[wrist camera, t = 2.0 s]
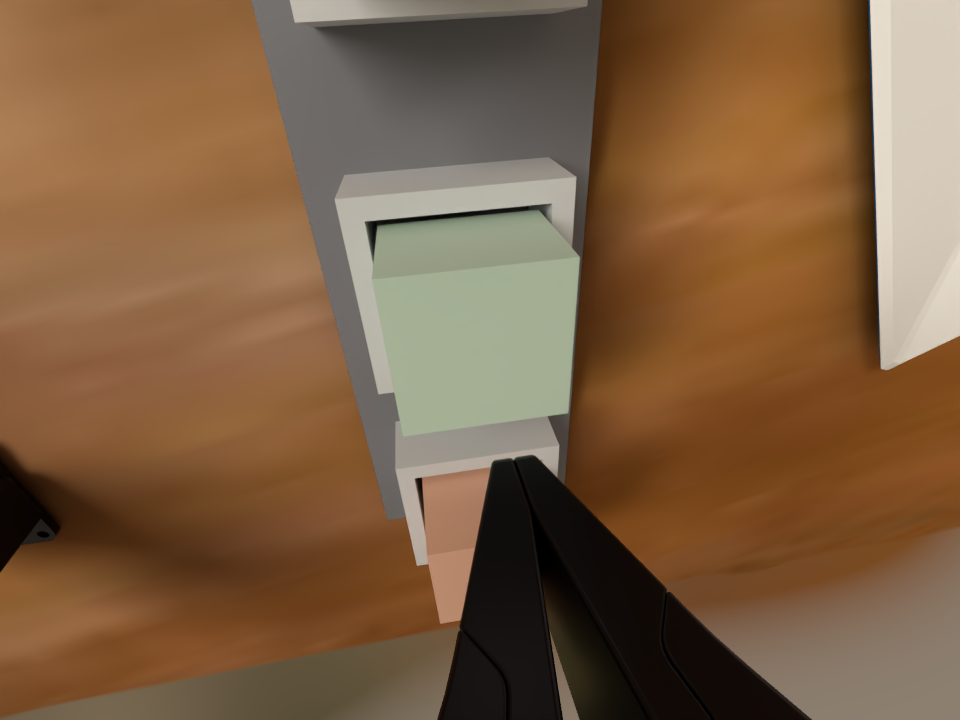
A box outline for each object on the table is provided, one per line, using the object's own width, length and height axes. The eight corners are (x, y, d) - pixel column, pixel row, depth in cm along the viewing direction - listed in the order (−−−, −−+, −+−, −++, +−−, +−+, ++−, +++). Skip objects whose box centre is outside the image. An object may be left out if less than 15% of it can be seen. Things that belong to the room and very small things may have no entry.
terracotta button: (434, 541, 23) (440, 623, 20) (422, 473, 20) (426, 555, 17) (532, 525, 24) (553, 603, 20) (533, 456, 21) (559, 533, 17)
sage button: (401, 360, 17) (403, 436, 14) (377, 225, 14) (371, 279, 11) (535, 343, 17) (568, 413, 14) (538, 209, 14) (579, 256, 11)
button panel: (388, 508, 26) (386, 570, 23) (161, -378, 10) (49, -580, 7) (559, 481, 27) (581, 538, 24) (618, -368, 11) (711, -541, 8)
